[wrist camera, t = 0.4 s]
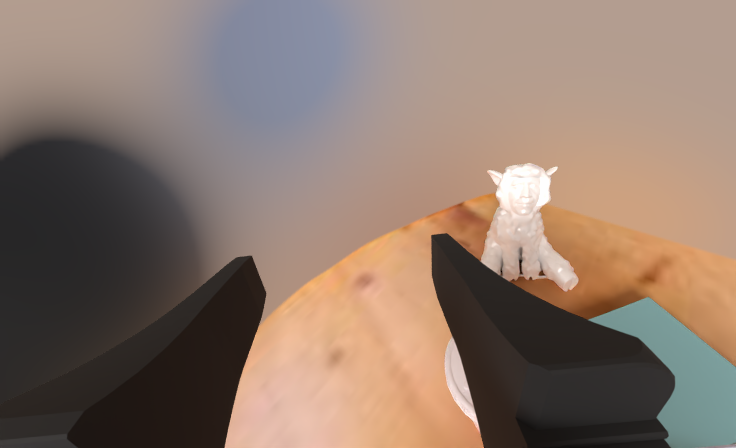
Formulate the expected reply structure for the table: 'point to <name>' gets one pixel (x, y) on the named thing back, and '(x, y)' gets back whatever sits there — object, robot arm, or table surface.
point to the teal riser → (684, 376)
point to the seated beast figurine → (524, 228)
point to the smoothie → (458, 381)
